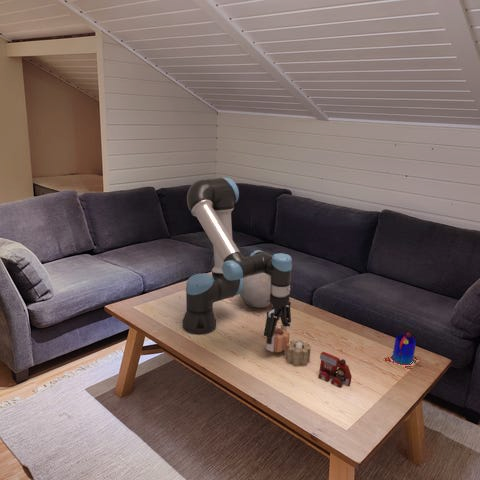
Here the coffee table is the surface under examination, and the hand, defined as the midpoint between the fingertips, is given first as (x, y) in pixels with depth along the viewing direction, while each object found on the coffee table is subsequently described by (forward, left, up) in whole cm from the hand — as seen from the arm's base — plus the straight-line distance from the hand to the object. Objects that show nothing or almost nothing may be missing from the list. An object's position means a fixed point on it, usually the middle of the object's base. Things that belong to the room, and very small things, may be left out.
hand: (276, 345), depth 177 cm
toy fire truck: (+26, -2, -4) cm, 27 cm away
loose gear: (0, 0, 0) cm, 0 cm away
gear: (+10, 0, -3) cm, 10 cm away
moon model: (-31, +31, -4) cm, 44 cm away
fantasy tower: (+41, +29, -4) cm, 51 cm away
